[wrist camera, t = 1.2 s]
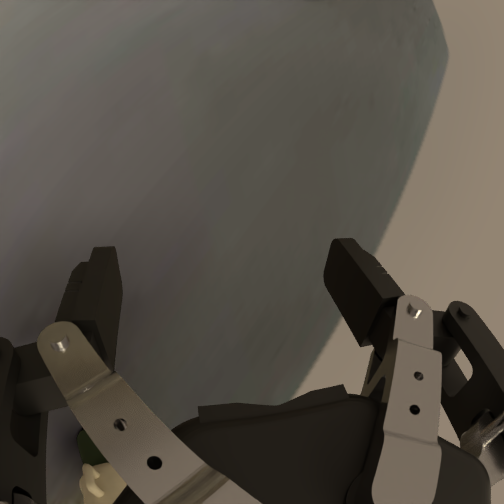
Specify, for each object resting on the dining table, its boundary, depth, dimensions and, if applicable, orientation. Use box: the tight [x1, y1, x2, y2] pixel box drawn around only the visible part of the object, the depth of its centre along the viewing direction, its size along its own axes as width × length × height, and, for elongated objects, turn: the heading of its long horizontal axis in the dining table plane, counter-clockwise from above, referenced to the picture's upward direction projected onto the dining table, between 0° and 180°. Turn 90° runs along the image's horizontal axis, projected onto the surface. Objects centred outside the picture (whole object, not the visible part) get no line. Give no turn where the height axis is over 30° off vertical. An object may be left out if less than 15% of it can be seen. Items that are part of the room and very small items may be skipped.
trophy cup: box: [77, 430, 127, 504], centre depth 24 cm, size 11×7×13 cm, turn 15°
